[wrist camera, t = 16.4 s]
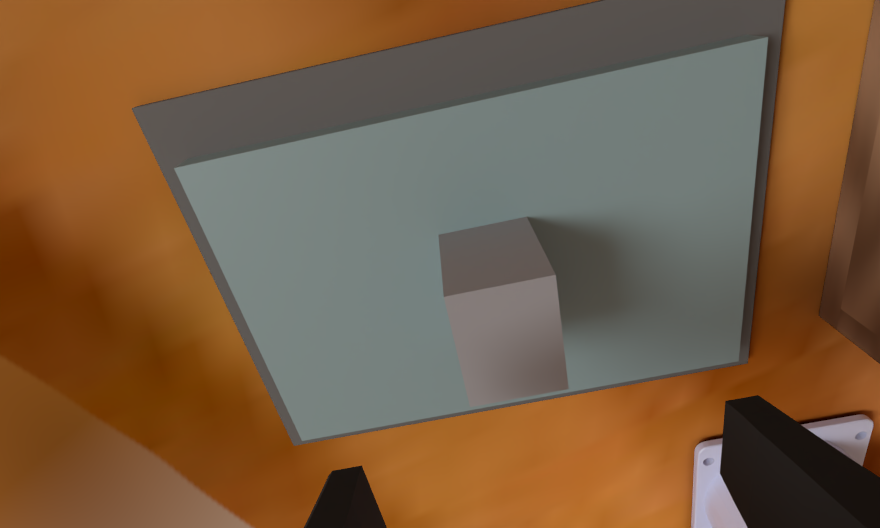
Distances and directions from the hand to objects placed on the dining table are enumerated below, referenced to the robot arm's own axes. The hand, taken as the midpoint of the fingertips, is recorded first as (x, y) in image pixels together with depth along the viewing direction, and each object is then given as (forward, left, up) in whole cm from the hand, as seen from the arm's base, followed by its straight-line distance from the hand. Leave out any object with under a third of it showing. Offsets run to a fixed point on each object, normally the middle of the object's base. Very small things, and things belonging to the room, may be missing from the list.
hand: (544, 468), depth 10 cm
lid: (0, 0, -10) cm, 10 cm away
